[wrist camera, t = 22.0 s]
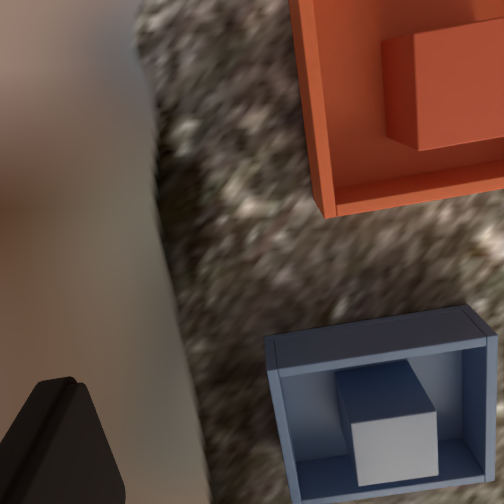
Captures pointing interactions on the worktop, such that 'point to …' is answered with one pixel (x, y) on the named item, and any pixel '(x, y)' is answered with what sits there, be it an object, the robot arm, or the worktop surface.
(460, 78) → the terracotta block
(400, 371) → the blue cubic block piece
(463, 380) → the blue bin
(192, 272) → the worktop surface
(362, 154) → the terracotta bin
